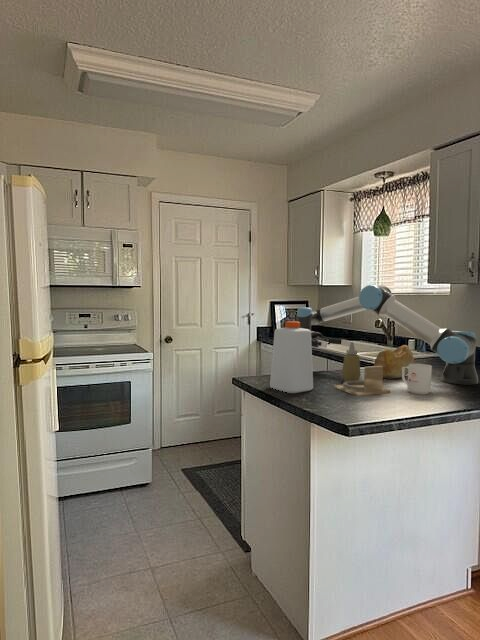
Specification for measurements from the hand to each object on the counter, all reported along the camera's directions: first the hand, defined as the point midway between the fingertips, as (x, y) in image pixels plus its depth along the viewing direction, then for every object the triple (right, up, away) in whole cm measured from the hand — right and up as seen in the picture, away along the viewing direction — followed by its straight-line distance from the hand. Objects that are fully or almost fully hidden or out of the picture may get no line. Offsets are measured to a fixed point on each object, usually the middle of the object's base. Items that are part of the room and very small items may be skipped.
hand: (338, 344), depth 210 cm
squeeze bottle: (+4, -17, -8) cm, 19 cm away
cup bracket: (+4, -18, -24) cm, 30 cm away
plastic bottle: (-25, -17, -24) cm, 39 cm away
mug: (+26, -18, -25) cm, 41 cm away
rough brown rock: (+27, -16, +8) cm, 32 cm away
